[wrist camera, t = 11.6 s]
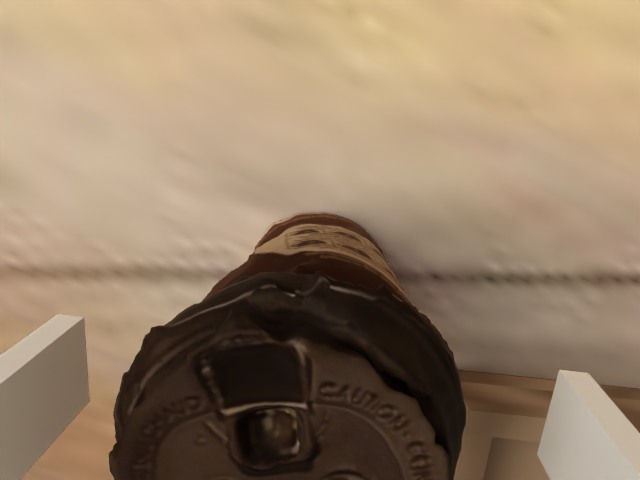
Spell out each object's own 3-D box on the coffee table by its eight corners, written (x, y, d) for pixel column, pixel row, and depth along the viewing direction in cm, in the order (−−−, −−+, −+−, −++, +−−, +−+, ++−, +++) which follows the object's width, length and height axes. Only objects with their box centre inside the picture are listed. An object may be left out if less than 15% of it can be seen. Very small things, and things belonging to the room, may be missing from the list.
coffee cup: (287, 144, 21) (197, 208, 8) (446, 240, 21) (583, 430, 9) (200, 301, 23) (26, 536, 11) (346, 382, 24) (345, 689, 11)
